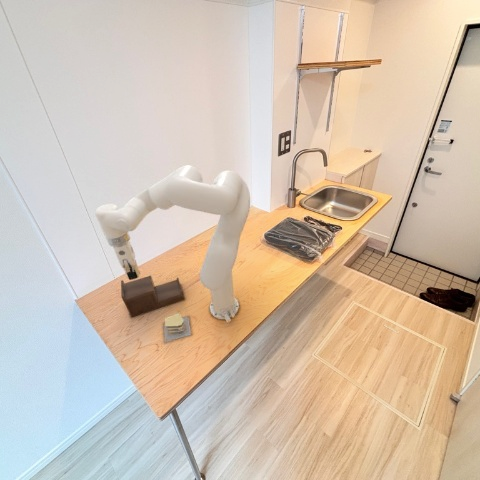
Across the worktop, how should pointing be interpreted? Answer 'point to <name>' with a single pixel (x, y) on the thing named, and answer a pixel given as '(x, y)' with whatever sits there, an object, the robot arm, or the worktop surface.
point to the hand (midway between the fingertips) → (133, 273)
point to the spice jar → (134, 269)
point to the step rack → (149, 295)
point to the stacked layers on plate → (176, 327)
